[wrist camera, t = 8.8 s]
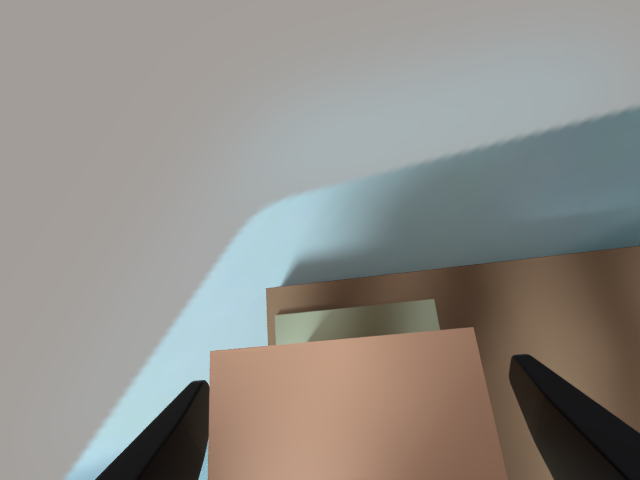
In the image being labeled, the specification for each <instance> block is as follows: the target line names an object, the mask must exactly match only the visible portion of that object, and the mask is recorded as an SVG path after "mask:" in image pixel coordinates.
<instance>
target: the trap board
mask: <svg viewBox="0 0 640 480" xmlns="http://www.w3.org/2000/svg"><path fill="white" fill-rule="evenodd" d="M266 299H267V327H268V346H272V345H283V344H294V343H305V342H315V341H326V340H337V339H348V338H359V337H370V336H381V335H392V334H403V333H414V332H425V331H436V330H447V329H458V328H469V327H474V332H475V336H476V341H477V345H478V350H479V354H480V358H481V363H482V367H483V372H484V376H485V380H486V385H487V389H488V394H489V398H490V403H491V407H492V411H493V416H494V420H495V425H496V429H497V434H498V438H499V442H500V447H501V451H502V456H503V460H504V465H505V469H506V473H507V478H508V480H554V479H553V477H552V475H551V473H550V471H549V470H548V468H547V466H546V464H545V462H544V460H543V458H542V456H541V454H540V452H539V450H538V448H537V446H536V444H535V442H534V440H533V438H532V436H531V433H530V431H529V428H528V426H527V424H526V421H525V419H524V416H523V414H522V411H521V409H520V406H519V404H518V401H517V399H516V396H515V394H514V391H513V389H512V387H511V384H510V381H509V369H510V362H511V357H512V356H513V355H517V354H529V355H531V356H532V357H534V358H535V359H537V360H538V361H539V362H541V363H542V364H544V365H545V366H546V367H548V368H549V369H551V370H552V371H554V372H555V373H556V374H558V375H559V376H561V377H562V378H563V379H565V380H566V381H568V382H569V383H570V384H572V385H573V386H575V387H576V388H577V389H579V390H580V391H582V392H583V393H584V394H586V395H587V396H589V397H590V398H591V399H593V400H594V401H596V402H597V403H598V404H600V405H601V406H603V407H604V408H605V409H607V410H608V411H610V412H611V413H612V414H614V415H615V416H617V417H618V418H619V419H621V420H622V421H624V422H625V423H626V424H628V425H629V426H631V427H632V428H633V429H635V430H636V431H638V432H639V433H640V246H634V247H625V248H616V249H608V250H599V251H590V252H581V253H573V254H564V255H555V256H546V257H537V258H529V259H520V260H511V261H502V262H494V263H485V264H476V265H467V266H458V267H450V268H441V269H432V270H423V271H415V272H406V273H397V274H388V275H379V276H371V277H362V278H353V279H344V280H335V281H327V282H318V283H309V284H300V285H292V286H283V287H274V288H266Z"/></svg>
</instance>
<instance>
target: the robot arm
mask: <svg viewBox="0 0 640 480" xmlns="http://www.w3.org/2000/svg"><path fill="white" fill-rule="evenodd" d="M509 381H510V384H511V387H512V389H513V391H514V394H515V396H516V399H517V401H518V404H519V406H520V409H521V411H522V414H523V416H524V419H525V421H526V424H527V426H528V428H529V431H530V433H531V436H532V438H533V440H534V442H535V444H536V446H537V448H538V450H539V452H540V454H541V456H542V458H543V460H544V462H545V464H546V466H547V468H548V470H549V471H550V473H551V475H552V477H553V479H554V480H640V433H639V432H638V431H636V430H635V429H633V428H632V427H631V426H629V425H628V424H626V423H625V422H624V421H622V420H621V419H619V418H618V417H617V416H615V415H614V414H612V413H611V412H610V411H608V410H607V409H605V408H604V407H603V406H601V405H600V404H598V403H597V402H596V401H594V400H593V399H591V398H590V397H589V396H587V395H586V394H584V393H583V392H582V391H580V390H579V389H577V388H576V387H575V386H573V385H572V384H570V383H569V382H568V381H566V380H565V379H563V378H562V377H561V376H559V375H558V374H556V373H555V372H554V371H552V370H551V369H549V368H548V367H546V366H545V365H544V364H542V363H541V362H539V361H538V360H537V359H535V358H534V357H532V356H531V355H529V354H517V355H513V356H512V357H511V362H510V369H509ZM209 391H210V387H209V385H208V383H207V381H205V380H199V381H193V382H191V383H190V384H189V385H188V386H187V387H186V388H185V389H184V390H183V391H182V392H181V393H180V394H179V395H178V396H177V397H176V398H175V399H174V400H173V401H172V402H171V403H170V404H169V405H168V406H167V407H166V408H165V409H164V410H163V411H162V412H161V413H160V414H159V415H158V416H157V417H156V418H155V419H154V420H153V421H152V422H151V423H150V424H149V425H148V426H147V427H146V428H145V429H144V430H143V432H142V433H141V434H140V435H139V436H138V437H137V438H136V439H135V440H134V441H133V442H132V443H131V444H130V445H129V446H128V447H127V448H126V449H125V450H124V451H123V452H122V453H121V454H120V455H119V456H118V457H117V458H116V459H115V460H114V461H113V462H112V463H111V464H110V465H109V466H108V467H107V468H106V469H105V470H104V471H103V472H102V473H101V474H100V475H99V476H98V477H97V478H96V479H95V480H198V478H199V475H200V471H201V468H202V464H203V461H204V457H205V452H206V448H207V442H208V437H209Z"/></svg>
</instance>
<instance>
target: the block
mask: <svg viewBox="0 0 640 480" xmlns="http://www.w3.org/2000/svg"><path fill="white" fill-rule="evenodd" d="M208 480H508V478H507V473H506V469H505V465H504V460H503V456H502V451H501V447H500V442H499V438H498V434H497V429H496V425H495V420H494V416H493V411H492V407H491V403H490V398H489V394H488V389H487V385H486V380H485V376H484V372H483V367H482V363H481V358H480V354H479V350H478V345H477V341H476V336H475V332H474V327H469V328H458V329H447V330H436V331H425V332H414V333H403V334H392V335H381V336H370V337H359V338H348V339H337V340H326V341H315V342H305V343H294V344H283V345H272V346H261V347H250V348H239V349H228V350H217V351H210V391H209V447H208Z"/></svg>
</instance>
